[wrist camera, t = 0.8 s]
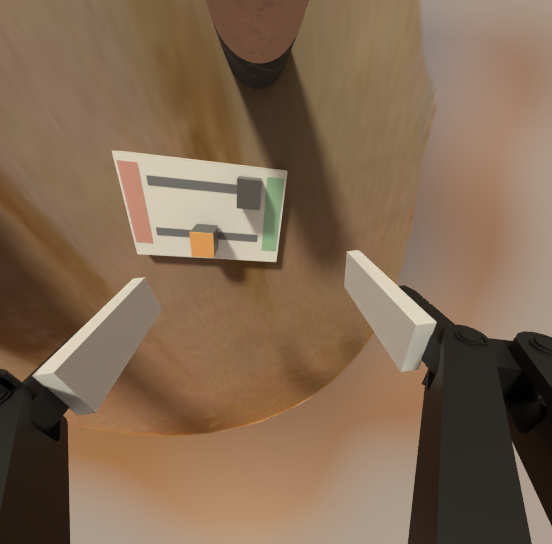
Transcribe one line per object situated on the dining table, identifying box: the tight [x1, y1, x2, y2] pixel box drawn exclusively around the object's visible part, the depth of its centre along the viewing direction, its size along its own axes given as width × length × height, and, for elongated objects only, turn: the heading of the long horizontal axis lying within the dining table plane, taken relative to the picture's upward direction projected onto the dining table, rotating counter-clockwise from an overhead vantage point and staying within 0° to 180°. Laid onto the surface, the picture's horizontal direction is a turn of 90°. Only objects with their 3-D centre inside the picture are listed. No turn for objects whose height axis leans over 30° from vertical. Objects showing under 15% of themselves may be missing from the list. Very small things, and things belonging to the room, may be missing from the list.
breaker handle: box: [189, 224, 218, 258], centre depth 29 cm, size 3×4×4 cm
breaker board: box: [112, 151, 287, 262], centre depth 29 cm, size 22×14×6 cm, turn 85°
